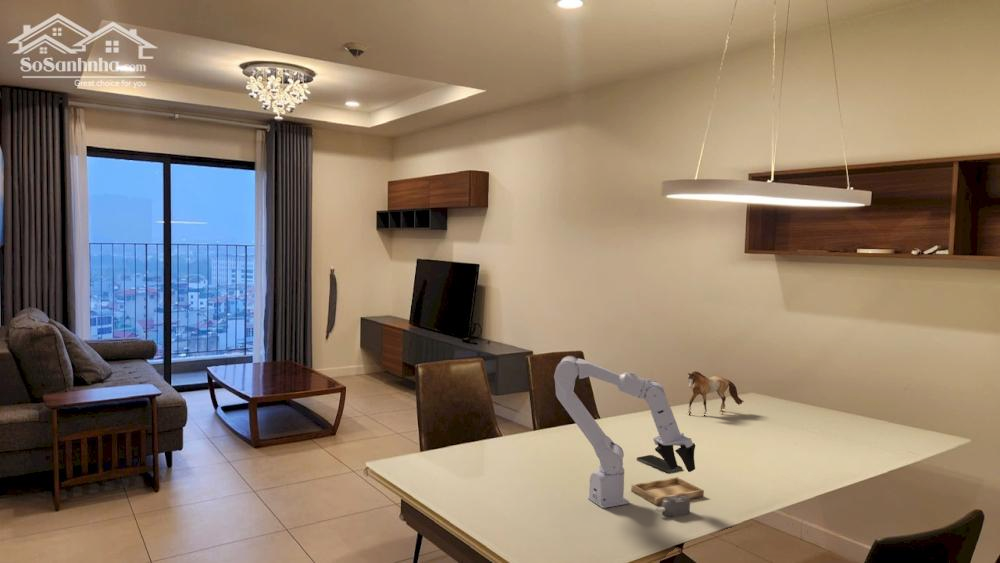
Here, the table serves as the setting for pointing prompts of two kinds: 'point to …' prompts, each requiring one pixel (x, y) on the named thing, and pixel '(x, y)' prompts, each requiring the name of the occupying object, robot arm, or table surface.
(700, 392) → the horse figurine
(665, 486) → the oak tray
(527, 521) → the table surface
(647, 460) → the phone
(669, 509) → the grey rounded long block
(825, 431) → the table surface
